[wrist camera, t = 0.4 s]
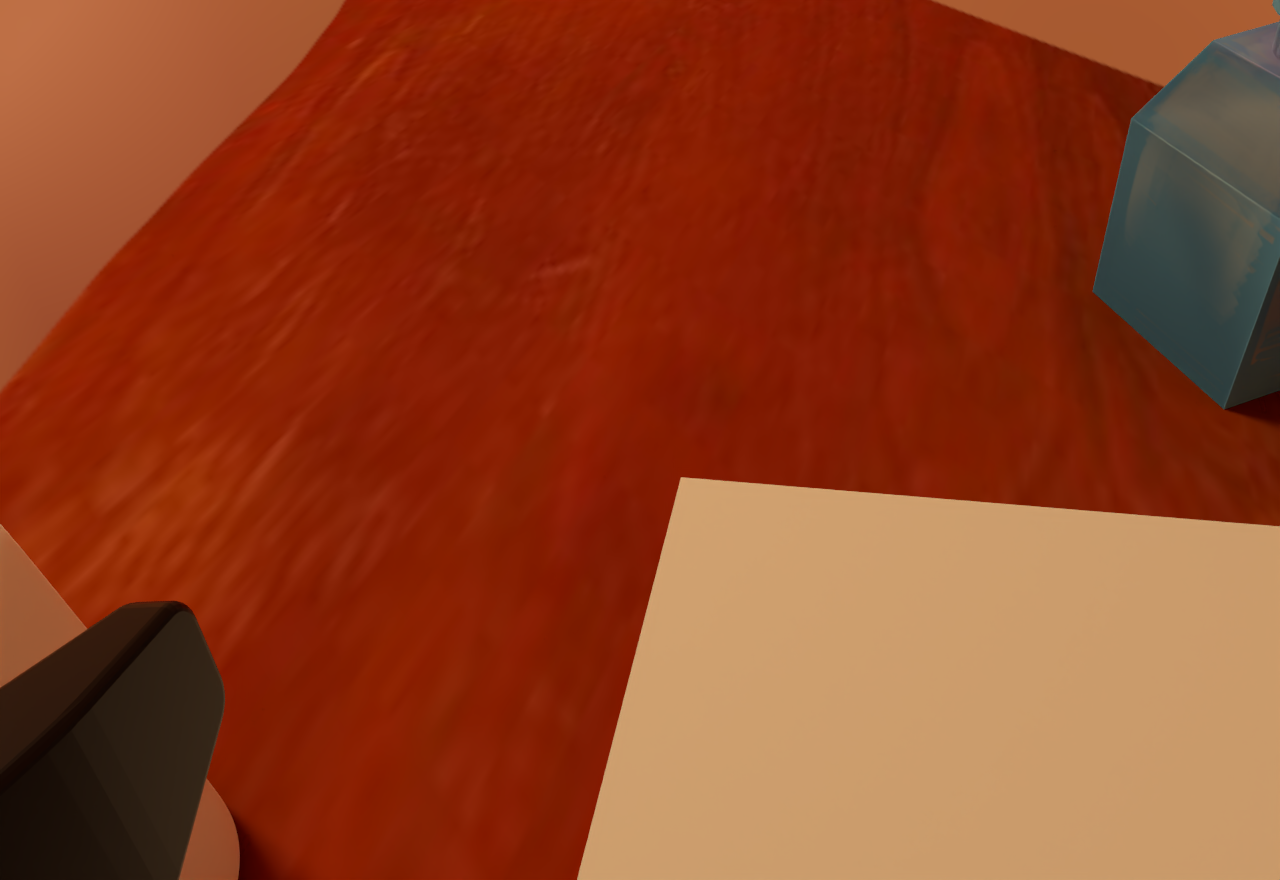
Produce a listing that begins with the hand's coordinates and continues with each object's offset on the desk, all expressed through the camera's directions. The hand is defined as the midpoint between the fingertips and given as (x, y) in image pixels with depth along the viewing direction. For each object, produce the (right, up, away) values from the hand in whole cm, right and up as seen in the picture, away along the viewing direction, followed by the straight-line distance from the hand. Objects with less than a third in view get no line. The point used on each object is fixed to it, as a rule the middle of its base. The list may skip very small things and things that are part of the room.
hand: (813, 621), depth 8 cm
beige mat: (+6, -6, +16) cm, 19 cm away
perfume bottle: (+17, +5, +26) cm, 32 cm away
